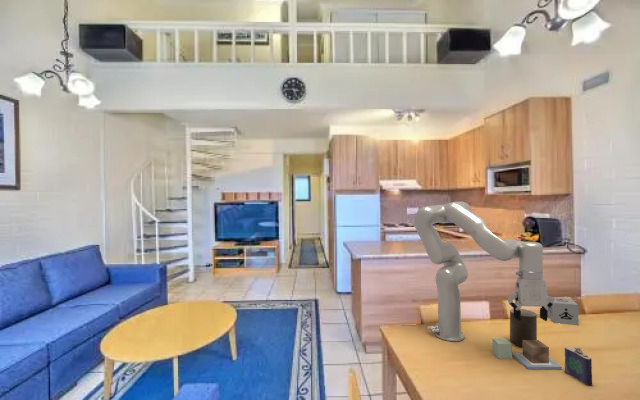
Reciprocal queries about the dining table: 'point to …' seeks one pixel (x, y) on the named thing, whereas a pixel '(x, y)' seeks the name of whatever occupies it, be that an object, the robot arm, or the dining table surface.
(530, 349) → the walnut block
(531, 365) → the blueprint board
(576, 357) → the flask
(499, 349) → the green block
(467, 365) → the dining table surface
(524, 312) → the pillar candle
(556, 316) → the icon cube
